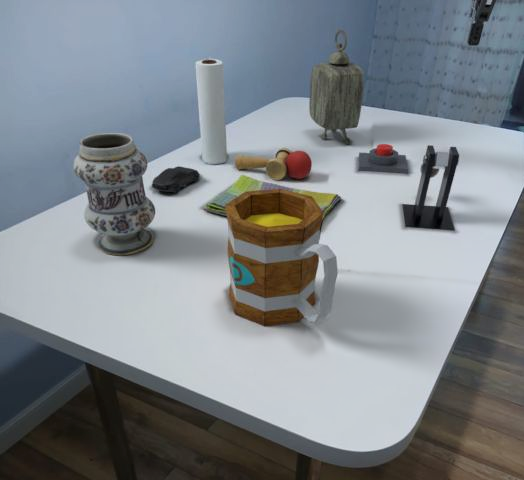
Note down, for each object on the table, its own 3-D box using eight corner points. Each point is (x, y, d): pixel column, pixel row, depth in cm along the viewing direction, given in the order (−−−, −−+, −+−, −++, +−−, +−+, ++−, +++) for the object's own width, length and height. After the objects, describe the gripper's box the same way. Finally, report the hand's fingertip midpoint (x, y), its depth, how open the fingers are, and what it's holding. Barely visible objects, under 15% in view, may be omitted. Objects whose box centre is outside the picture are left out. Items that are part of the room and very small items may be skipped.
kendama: (231, 181, 114) (305, 182, 108) (229, 152, 111) (305, 151, 105) (245, 175, 121) (316, 175, 114) (243, 147, 118) (315, 146, 111)
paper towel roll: (217, 166, 118) (212, 65, 104) (197, 161, 120) (189, 62, 106) (234, 157, 123) (231, 59, 108) (214, 152, 125) (209, 56, 111)
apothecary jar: (157, 223, 96) (143, 126, 84) (161, 254, 87) (145, 150, 75) (93, 229, 94) (69, 130, 82) (90, 262, 85) (62, 156, 73)
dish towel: (243, 182, 111) (242, 170, 109) (346, 204, 102) (347, 191, 101) (201, 213, 99) (200, 200, 97) (313, 240, 91) (314, 227, 89)
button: (391, 152, 116) (392, 144, 114) (391, 157, 113) (393, 149, 112) (375, 151, 116) (376, 143, 115) (376, 156, 113) (377, 148, 112)
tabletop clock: (356, 146, 129) (370, 34, 112) (323, 149, 127) (332, 35, 111) (336, 129, 139) (346, 24, 123) (306, 132, 138) (312, 25, 121)
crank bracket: (401, 209, 101) (415, 139, 92) (446, 212, 100) (465, 142, 91) (404, 232, 93) (419, 158, 84) (453, 236, 92) (474, 161, 83)
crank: (417, 178, 101) (420, 159, 100) (436, 179, 100) (438, 161, 99) (430, 169, 88) (433, 147, 87) (451, 170, 87) (454, 148, 87)
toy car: (203, 179, 112) (201, 162, 110) (169, 198, 104) (167, 180, 102) (182, 174, 114) (181, 157, 112) (148, 192, 107) (145, 175, 104)
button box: (403, 164, 120) (407, 147, 117) (406, 178, 113) (409, 161, 110) (358, 161, 121) (360, 144, 118) (357, 175, 114) (359, 158, 111)
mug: (211, 293, 78) (204, 203, 68) (280, 267, 84) (283, 180, 74) (287, 362, 66) (292, 264, 56) (361, 326, 72) (377, 232, 62)
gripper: (528, -63, 86) (497, 51, 98) (512, -64, 96) (485, 39, 108) (484, -63, 87) (458, 50, 99) (472, -65, 97) (450, 38, 109)
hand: (472, 44), depth 103 cm, fingers closed
